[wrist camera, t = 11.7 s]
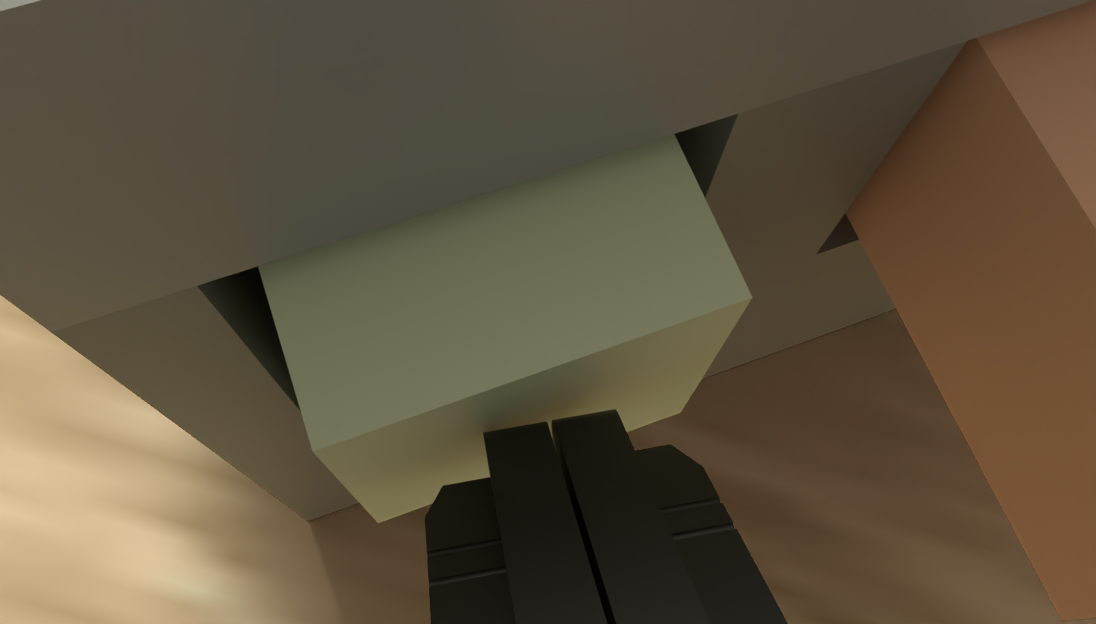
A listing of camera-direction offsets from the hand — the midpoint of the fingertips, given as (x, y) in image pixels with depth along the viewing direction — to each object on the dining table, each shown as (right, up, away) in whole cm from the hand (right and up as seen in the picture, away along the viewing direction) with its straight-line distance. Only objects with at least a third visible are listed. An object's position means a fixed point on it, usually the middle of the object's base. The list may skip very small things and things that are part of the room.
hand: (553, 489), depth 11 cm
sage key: (-2, +3, +4) cm, 5 cm away
